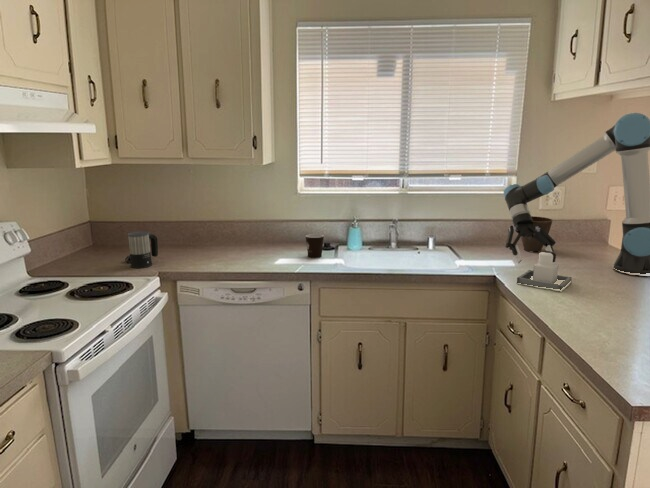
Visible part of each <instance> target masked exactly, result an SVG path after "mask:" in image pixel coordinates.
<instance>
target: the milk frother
mask: <svg viewBox="0 0 650 488" xmlns="http://www.w3.org/2000/svg"><path fill="white" fill-rule="evenodd" d="M127 236H128V237H127V238H128V247H129V255H127V256H126V257H125V259H124V261H125V262H126V263H128V264H130V268H132V269H145V268H148V267H151V266H153V261H152V257H154V258H156V257H157V258H158V255H159V244H158V243H159V242H158V236H156V234H152V233H150V232H149V231H146V230H145V231H133V232H129V233H127Z"/></svg>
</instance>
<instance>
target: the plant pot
mask: <svg viewBox="0 0 650 488" xmlns="http://www.w3.org/2000/svg"><path fill="white" fill-rule="evenodd" d="M531 217H532V220H533V225H534V226H535V227H537V226H539V225H541V226H542V227H543V229H544V230H545V231H546V232H547V233H548V235H549V234H550V231H551V227H552V223H553V219H552V218H548V217H543V216H532V215H531ZM533 235H535V233H534V234H533ZM520 239H521V242H522V246H523V250H524V251H525V250H527V251H526V252H529V251H540V252H542V249H543V247H544V245H543V244H542V243H540V242H539V241H537V240H536V239H535V238H532V237H522V236H521V237H520Z"/></svg>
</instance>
